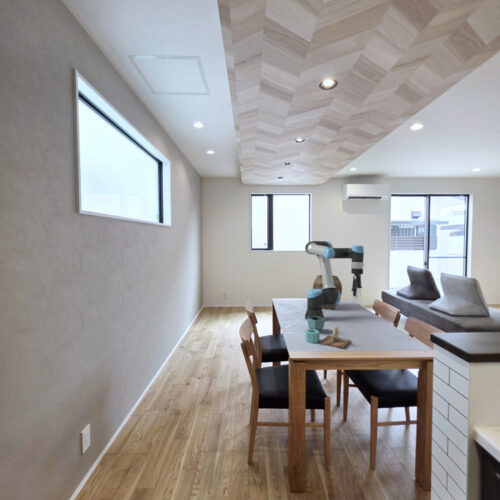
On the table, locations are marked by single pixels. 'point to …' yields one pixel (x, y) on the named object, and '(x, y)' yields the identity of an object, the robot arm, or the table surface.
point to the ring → (312, 336)
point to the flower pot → (316, 323)
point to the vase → (319, 285)
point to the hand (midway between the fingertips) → (356, 299)
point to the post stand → (335, 340)
